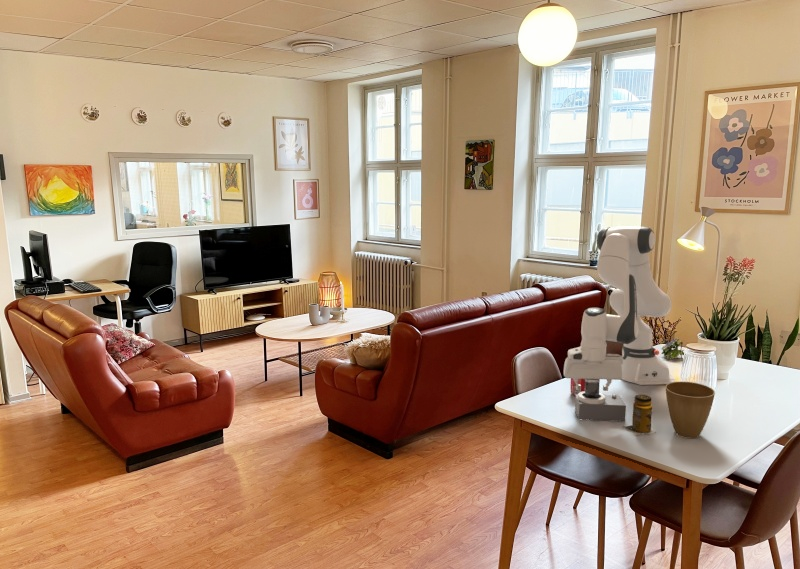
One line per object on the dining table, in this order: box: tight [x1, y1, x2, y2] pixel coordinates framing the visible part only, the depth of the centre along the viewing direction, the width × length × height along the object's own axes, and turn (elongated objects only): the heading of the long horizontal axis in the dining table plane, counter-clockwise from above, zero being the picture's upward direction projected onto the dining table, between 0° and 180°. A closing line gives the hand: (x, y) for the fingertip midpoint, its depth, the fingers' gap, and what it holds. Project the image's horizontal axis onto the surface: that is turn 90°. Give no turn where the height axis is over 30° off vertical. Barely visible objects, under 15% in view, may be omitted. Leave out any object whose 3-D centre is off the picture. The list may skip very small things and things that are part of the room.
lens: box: [585, 379, 601, 399], centre depth 219 cm, size 5×5×8 cm
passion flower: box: [660, 337, 685, 361], centre depth 289 cm, size 11×11×12 cm
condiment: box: [621, 394, 657, 436], centre depth 206 cm, size 7×8×12 cm
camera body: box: [574, 391, 627, 423], centre depth 219 cm, size 16×10×8 cm, turn 82°
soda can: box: [570, 378, 585, 396], centre depth 241 cm, size 7×7×12 cm
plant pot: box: [664, 381, 716, 439], centre depth 201 cm, size 15×15×16 cm
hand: (591, 390), depth 219 cm, fingers open, 8 cm apart
